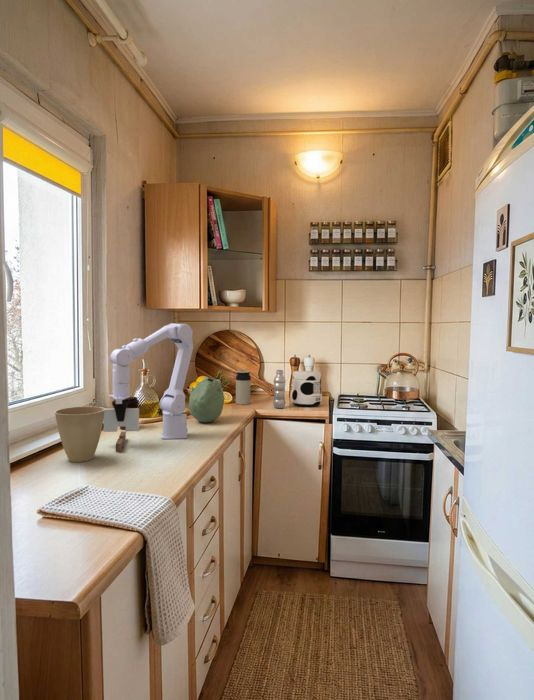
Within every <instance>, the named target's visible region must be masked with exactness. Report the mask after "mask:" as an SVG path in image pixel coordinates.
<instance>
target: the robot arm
mask: <svg viewBox="0 0 534 700" xmlns="http://www.w3.org/2000/svg"><path fill="white" fill-rule="evenodd" d="M193 334H194V331H193V329H192V328H191V326H190V325H189V324H187V323H174V322H171V323H169V324H166V325H164V326H162V327H161V328H159V329H158V330H156V331H155V332H153V333H152V334H150V335H148V336H147V337H145V338H139V337H138V338H135V337H134V338H133V339H132V341H131V342H130V343H127V344H126V345H125V344H124V345H122V346H121V348H115V349H114V350H113V351H112V352H111V354H110V356H109V358H108V359H109V361H110V363H111V365H112V394H109V395H108V397H109V398H112V399H114V400H113V401H112V402H111V405H112V406H113V409H115V412H116V417H117V421H124V418H125V412H126V408H127V406H128V403H129V401H130V400H129V399H126V398H129V397H131V395H130V365H131V364H132V362H133V360H135V359H137V358H139V357H140V356H143V355H144V354H146V353H147V352H148V349H149V348H150V347H152V346H153V345H156V344H158V343H159V342H162V341H164V340H165V339H169V340H170V341H171V342H172V343H174V345H175V346H176V347H177V353H176V358H175V362H174V366H173V370H172V374H171V377H170V382H169V387H168V388H167V389H166V390H164V392H163V396H162V397H161V398H160V401H159V408H160V410H162V433H161V437H160V438H161V440H170V439H171V440H172V439H173V440H174V439H187V438H188V435H187V434H188V433H189V431H188V418H187V417H188V416H187V415H188V414H187V413H184V411H185V410H186V394H185V392H184V387H185V382H186V378H187V375H188V370H189V366H190V363H191V362H190V361H191V358H192V354H193V350H194V343H193V336H194V335H193Z"/></svg>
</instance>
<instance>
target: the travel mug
mask: <svg viewBox="0 0 534 700" xmlns="http://www.w3.org/2000/svg"><path fill="white" fill-rule="evenodd" d="M250 373H251V371H250V370H246V369H245V370H243V369H242V370H240V369H239V370H236V376H235V404H237V405H239V404H242V405H243V406H245V404H247V405H249V404H251V379H252V378H251V375H250Z"/></svg>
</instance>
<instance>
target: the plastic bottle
mask: <svg viewBox="0 0 534 700" xmlns="http://www.w3.org/2000/svg"><path fill="white" fill-rule="evenodd" d="M275 372H276V373H275V374H276V375H275V376H274V379H273V389H274V394H273V402H272V405H273V407H274V408H275V409H283V408H285V406H286V399H285V390H286V389H285V388H286V381H287V380H286V377H285V376H284V370H282V369H276V371H275Z"/></svg>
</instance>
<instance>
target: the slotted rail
mask: <svg viewBox="0 0 534 700" xmlns="http://www.w3.org/2000/svg"><path fill="white" fill-rule="evenodd" d="M126 438H127V431H126V430H124V431H120V434H119V435H118V439H117V441H116V443H115V453H116V452H119V453H122V449H123V448H122V447H124V444H125V442H126V441H127V439H126Z"/></svg>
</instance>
